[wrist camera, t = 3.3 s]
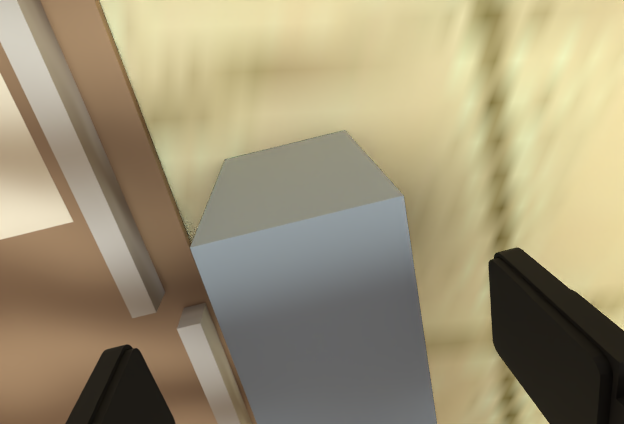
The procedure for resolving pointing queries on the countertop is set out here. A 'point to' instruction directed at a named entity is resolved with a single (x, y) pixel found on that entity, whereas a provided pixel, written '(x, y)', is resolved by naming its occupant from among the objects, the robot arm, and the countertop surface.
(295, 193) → the slider block
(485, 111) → the countertop surface
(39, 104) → the track
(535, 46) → the countertop surface
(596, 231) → the countertop surface
